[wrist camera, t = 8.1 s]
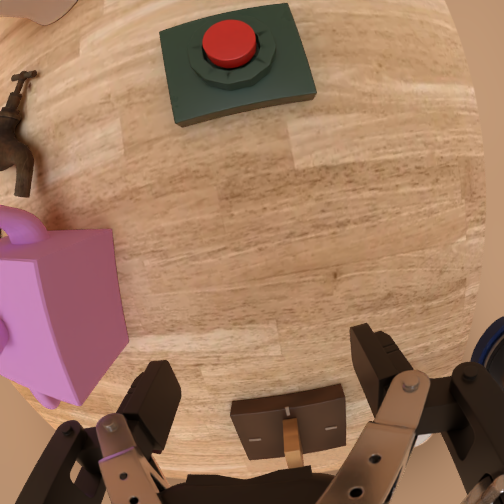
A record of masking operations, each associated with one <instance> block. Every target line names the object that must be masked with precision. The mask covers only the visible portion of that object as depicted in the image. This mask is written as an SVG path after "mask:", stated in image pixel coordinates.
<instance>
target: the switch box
mask: <svg viewBox="0 0 504 504" xmlns="http://www.w3.org/2000/svg"><path fill="white" fill-rule="evenodd" d="M224 20H239V21H242V22H244V23H246V24H248V25H249V26H250V27H251V28H252V29H253V31H254V33H255V36H256V52H255V54H254V56H253V57H252V59H251V60H250V61H249V62H247V63H246V64H244V65H242V66H239V67H236V68H223V67H219V66H217V65H215V64H214V63H212V62H211V61H210V60H209V58H208V56H207V54H206V52H205V50H204V48H203V44H202V41H203V37H204V34H205V33H206V31H207V30H208V29H209V28H210V27H211V26H212V25H214V24H216V23H218V22H220V21H224ZM159 35H160V41H161V48H162V54H163V60H164V66H165V72H166V77H167V83H168V89H169V94H170V100H171V105H172V110H173V115H174V120H175V123H176V124H177V125H179V126H181V127H185V126H189V125H192V124H196V123H200V122H203V121H207V120H211V119H215V118H219V117H223V116H227V115H231V114H235V113H240V112H244V111H249V110H254V109H259V108H264V107H269V106H274V105H280V104H286V103H292V102H299V101H306V100H312V99H313V98H314V97H315V95H316V93H317V91H316V88H315V84H314V81H313V77H312V74H311V70H310V67H309V64H308V61H307V57H306V54H305V51H304V48H303V45H302V42H301V39H300V36H299V33H298V30H297V27H296V24H295V22H294V19H293V16H292V13H291V11H290V8H289V5H288V3H282V4H273V5H266V6H259V7H253V8H247V9H241V10H236V11H231V12H226V13H222V14H218V15H213V16H209V17H206V18H202V19H198V20H194V21H191V22H188V23H184V24H181V25H178V26H175V27H172V28H169V29H166V30H163V31H160V32H159Z"/></svg>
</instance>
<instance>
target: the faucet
mask: <svg viewBox="0 0 504 504" xmlns="http://www.w3.org/2000/svg"><path fill="white" fill-rule="evenodd" d="M36 75H37V72H36V70H34V71H30V72H27V71H22V72H21V73H20V74H16V75H13V76H12V78H11V80H12V81H16V80H19V81H18V83H17V86H16V88H15V91H14V92H11V93H10V96H9V98H8V101H7V104H6V107H3V108H2V110H1V111H0V171H3V170H6V169H7V168H9V167H11V166H12V165H14V164H16V169H17V176H16V185H15V193H14V195H15V196H18V197H29V196H30V189H31V181H32V175H33V166H34V159H33V155H32V153H31V151H30V150H29V148H28V147H27V146H26V145H25V144H23V143H20V142H18V140H17V139H16V138H15V133H14V130H15V127H16V125H17V124H18V122H19V121H20V119H21V117H20V115H19V110H17V108H18V105H19V102H20V100H21V97H22V94H20V91H21V88H22V86H23V83H24V81H25V80H26V79H27V78H32V77H35V76H36Z"/></svg>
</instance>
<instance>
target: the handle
mask: <svg viewBox="0 0 504 504" xmlns="http://www.w3.org/2000/svg"><path fill="white" fill-rule="evenodd" d="M283 437H284V453H285V457H286V461H287V464H288V468H289V469H290V468H297V467H303V466H304V461H303V451H302V444H301V439H300V434H299V428H298V423H297V418H293V419H286V420H283Z"/></svg>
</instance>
